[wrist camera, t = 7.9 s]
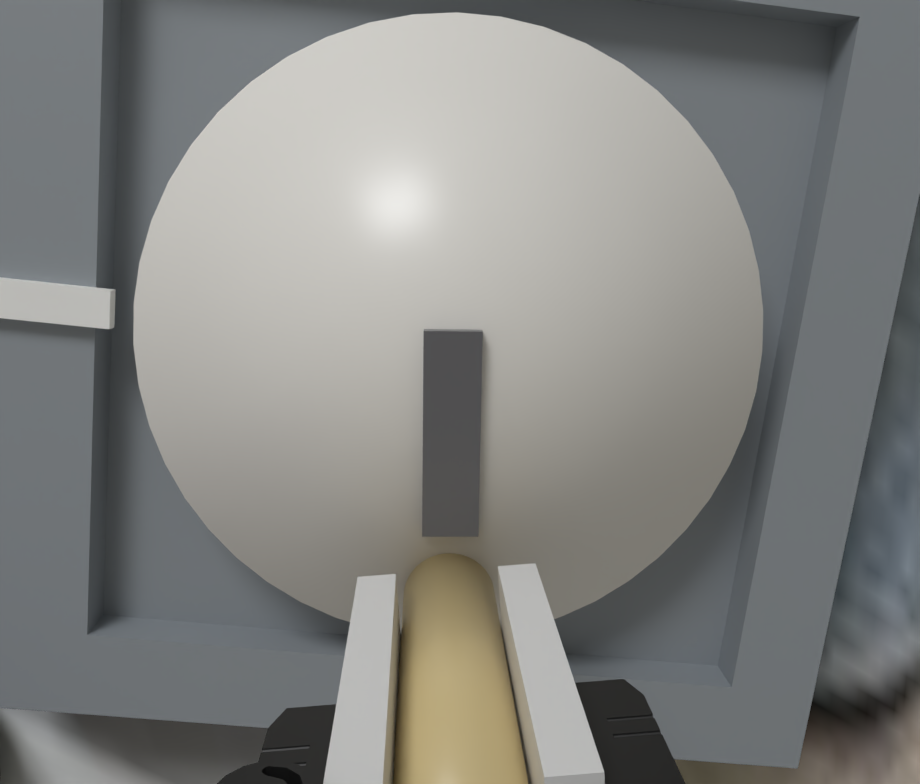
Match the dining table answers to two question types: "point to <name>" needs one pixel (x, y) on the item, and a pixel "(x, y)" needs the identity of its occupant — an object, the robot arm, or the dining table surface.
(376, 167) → the dial
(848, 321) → the panel
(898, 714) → the dining table surface
